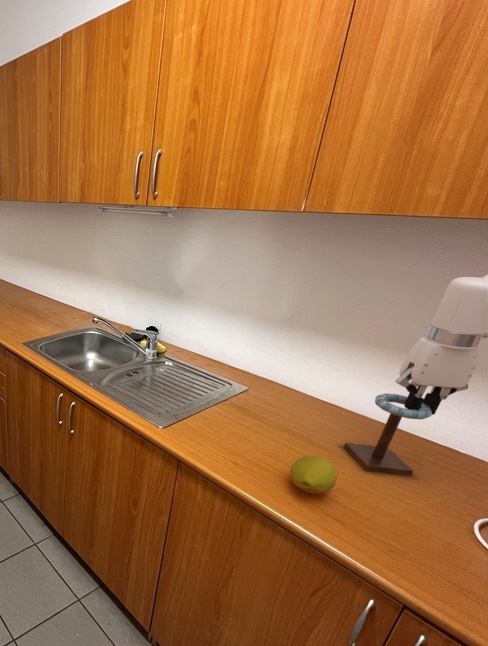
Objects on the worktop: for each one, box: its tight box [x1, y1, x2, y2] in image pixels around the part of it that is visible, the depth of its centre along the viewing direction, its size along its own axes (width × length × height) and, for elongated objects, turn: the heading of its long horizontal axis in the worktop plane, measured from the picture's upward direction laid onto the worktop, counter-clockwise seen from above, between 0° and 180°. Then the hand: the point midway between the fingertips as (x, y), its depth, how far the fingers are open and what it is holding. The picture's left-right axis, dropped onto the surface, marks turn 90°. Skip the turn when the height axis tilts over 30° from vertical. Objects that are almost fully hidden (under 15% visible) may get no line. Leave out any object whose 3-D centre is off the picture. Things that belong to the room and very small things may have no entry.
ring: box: [374, 393, 433, 420], centre depth 91 cm, size 9×9×2 cm
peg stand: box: [343, 413, 414, 477], centre depth 94 cm, size 9×9×14 cm
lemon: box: [289, 454, 338, 495], centre depth 87 cm, size 11×8×8 cm
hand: (418, 410), depth 90 cm, fingers closed on ring, 2 cm apart
